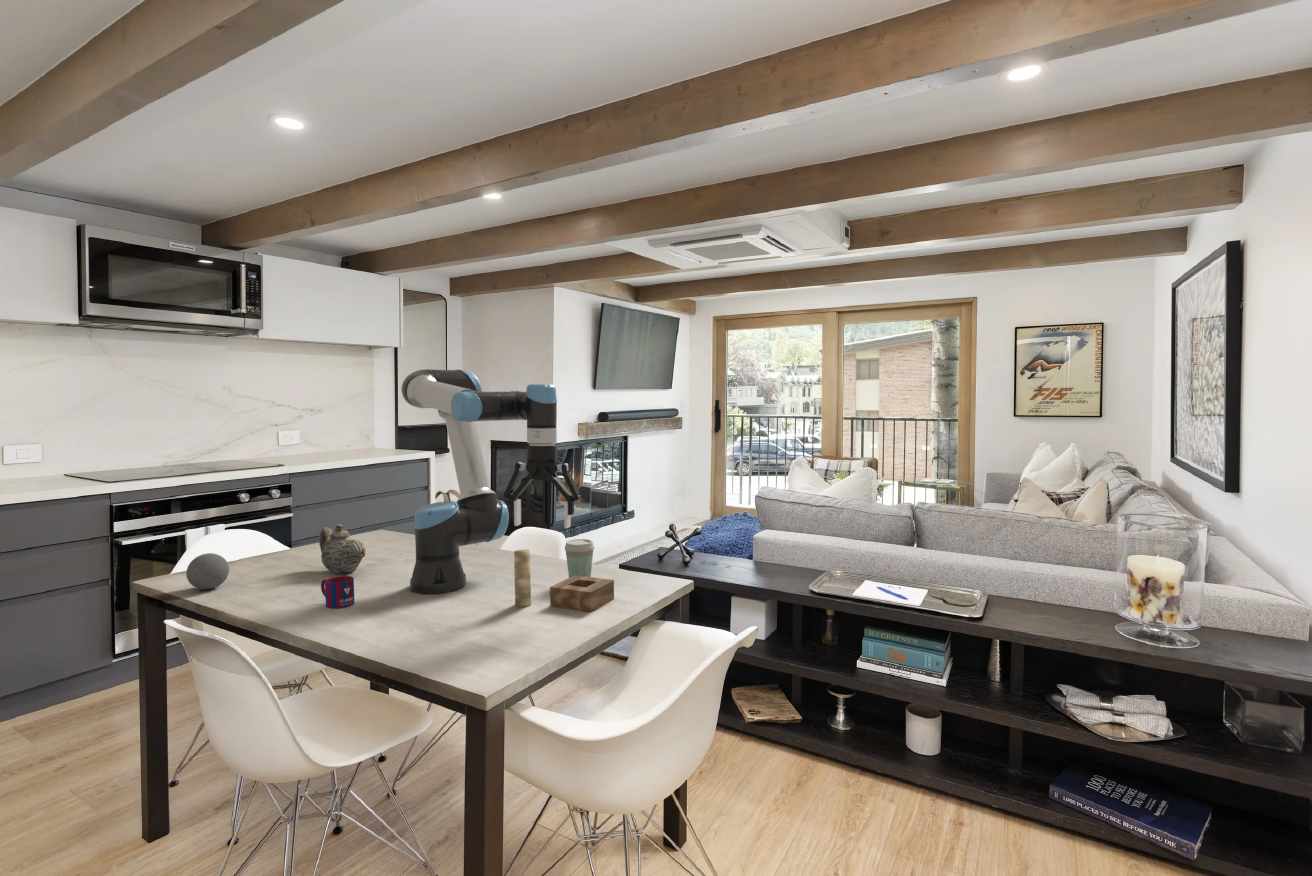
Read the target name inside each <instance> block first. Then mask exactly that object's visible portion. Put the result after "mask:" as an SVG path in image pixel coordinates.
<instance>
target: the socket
mask: <svg viewBox="0 0 1312 876" xmlns="http://www.w3.org/2000/svg"><path fill="white" fill-rule="evenodd" d="M549 597H550V598H549V600H550V601H549V603H550V604H549V605H550V607H554V608H561V609H568V610H574V611H582V612H587V613H593V612H595V610H597V609H599V608H601V607H602V606H604V605H606V604H607V603H609V602H611V601H612V600H614V599H615V580H614V579H608V578H601V577H592V576H591V577H586V576H578V575H574V576H572V577H570V578H569V577H568V578H566V579H564V580H562V581H559V582H557V583H555V584H553V585H550V586H549Z"/></svg>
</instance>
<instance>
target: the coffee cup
mask: <svg viewBox="0 0 1312 876" xmlns="http://www.w3.org/2000/svg"><path fill="white" fill-rule="evenodd" d="M594 549H595V545H594V541H593V540H592V539H588V538H585V539H584V538H581V539H580V538H575V539H571V540H569V539H568V540H567V541H566V543H565V545H564V550H565V555H566V556H565V558H566V564H567V571H568V572H567V573H568V578H570V577H572V576H574V575H578V576H586V577H592V568H593V567H592V566H593V558H594V557H593V556H594Z"/></svg>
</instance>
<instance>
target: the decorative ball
mask: <svg viewBox="0 0 1312 876" xmlns="http://www.w3.org/2000/svg"><path fill="white" fill-rule="evenodd" d="M186 568H187V569H186V572H185V573H186V579H187V581H188V583H189V584H190V585H192V587H194V588H196V589H199V590H203V591H204V590H213V589H215V588H217V587H220V586H221V585H222V584H224V583H225V581H226V580H227V579H228V576H229V573H230V565H229V563H228V561H227V560H226V559H225V558H224V557H223V556H222V555H220V554H217V553H213V552H212V553H211V552H210V553H209V552H208V553H203V554H200V555H198V556H196V557H194V558H193V559H192V560H191V561H190V562H189V564H188V566H187V567H186Z"/></svg>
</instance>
